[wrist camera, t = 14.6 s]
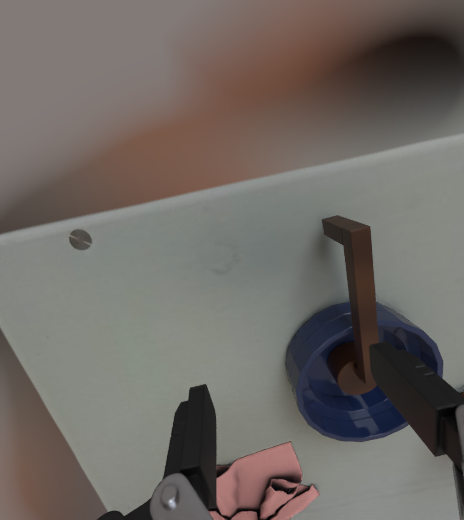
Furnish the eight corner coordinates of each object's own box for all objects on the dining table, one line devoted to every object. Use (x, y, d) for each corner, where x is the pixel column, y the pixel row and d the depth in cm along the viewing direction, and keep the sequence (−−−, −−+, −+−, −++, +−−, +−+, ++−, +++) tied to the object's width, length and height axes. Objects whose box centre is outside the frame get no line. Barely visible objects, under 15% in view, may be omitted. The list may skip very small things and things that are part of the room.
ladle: (303, 224, 24) (327, 237, 19) (355, 210, 24) (393, 219, 19) (329, 380, 31) (352, 422, 26) (370, 370, 31) (401, 410, 26)
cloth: (171, 533, 39) (168, 555, 37) (196, 429, 33) (194, 448, 31) (293, 542, 41) (298, 564, 39) (337, 447, 35) (345, 465, 33)
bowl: (262, 338, 29) (271, 367, 25) (383, 275, 28) (417, 293, 23) (315, 422, 34) (331, 461, 29) (423, 371, 32) (459, 403, 27)
